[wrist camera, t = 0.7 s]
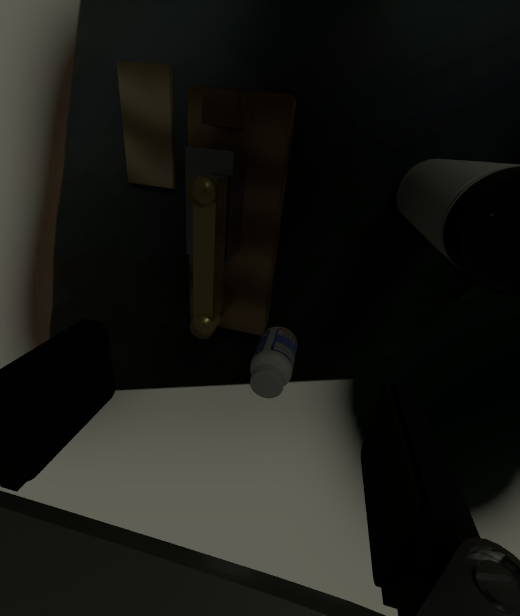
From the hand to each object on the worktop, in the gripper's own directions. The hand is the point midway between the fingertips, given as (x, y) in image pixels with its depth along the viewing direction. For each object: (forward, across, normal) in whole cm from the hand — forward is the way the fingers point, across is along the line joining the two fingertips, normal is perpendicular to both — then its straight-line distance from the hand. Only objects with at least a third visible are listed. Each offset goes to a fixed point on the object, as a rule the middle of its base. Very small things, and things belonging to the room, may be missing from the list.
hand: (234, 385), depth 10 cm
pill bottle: (+30, +1, +16) cm, 35 cm away
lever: (+25, +8, +2) cm, 27 cm away
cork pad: (+29, +19, -9) cm, 36 cm away
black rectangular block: (+25, +9, -3) cm, 27 cm away
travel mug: (+29, -12, -6) cm, 32 cm away
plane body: (+30, +8, 0) cm, 31 cm away
